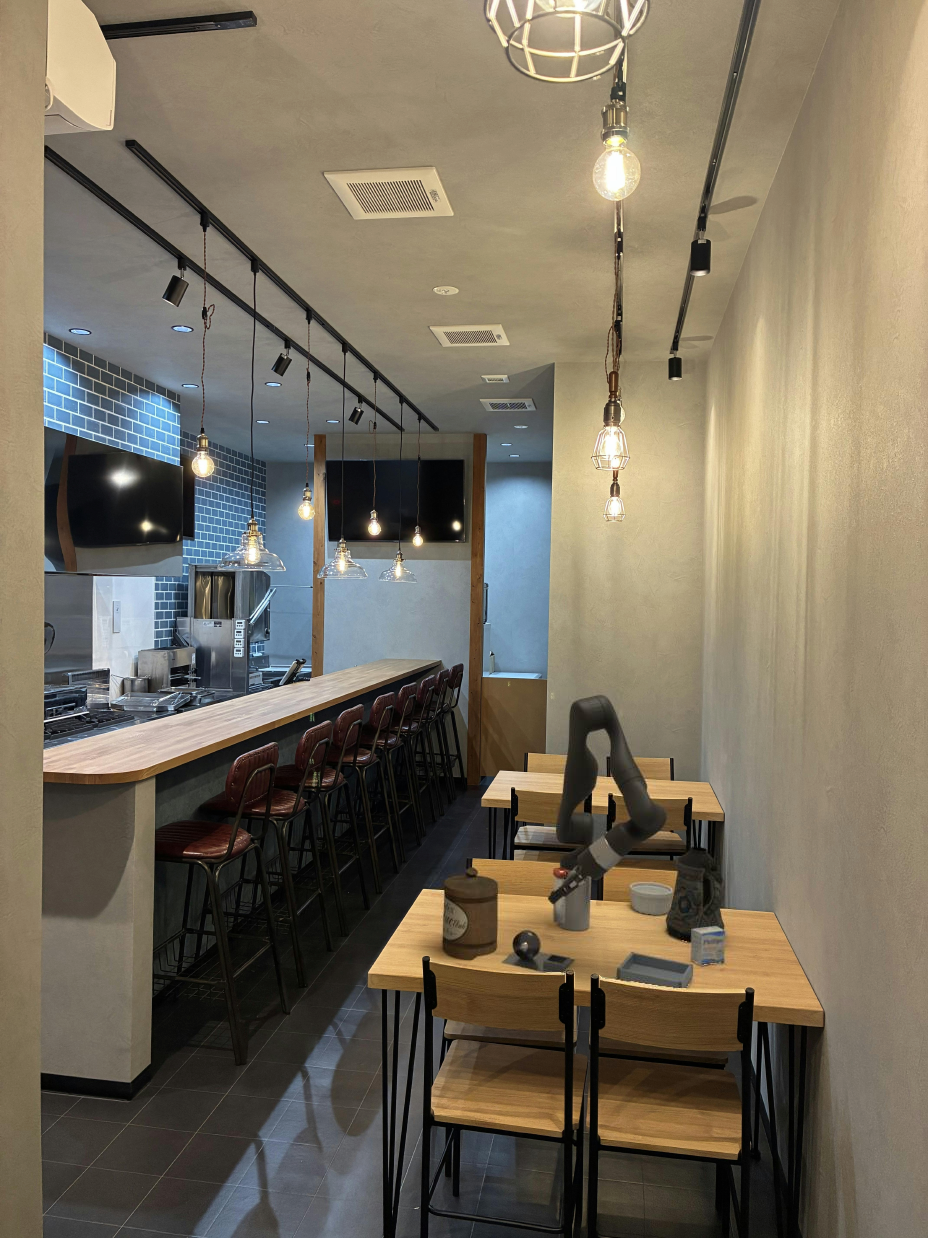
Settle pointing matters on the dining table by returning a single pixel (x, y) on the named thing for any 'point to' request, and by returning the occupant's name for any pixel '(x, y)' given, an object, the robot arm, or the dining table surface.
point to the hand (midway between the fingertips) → (551, 899)
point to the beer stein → (695, 894)
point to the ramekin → (651, 898)
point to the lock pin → (560, 904)
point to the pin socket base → (535, 955)
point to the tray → (655, 971)
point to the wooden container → (470, 915)
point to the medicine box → (707, 945)
